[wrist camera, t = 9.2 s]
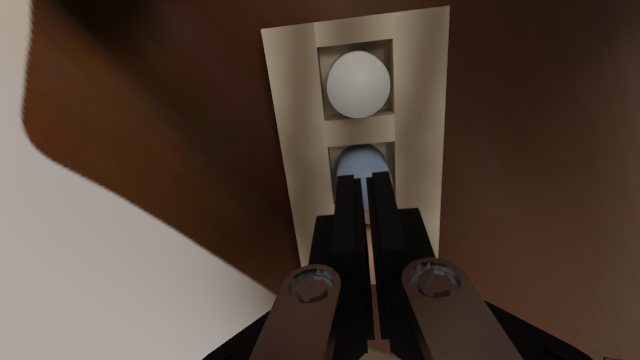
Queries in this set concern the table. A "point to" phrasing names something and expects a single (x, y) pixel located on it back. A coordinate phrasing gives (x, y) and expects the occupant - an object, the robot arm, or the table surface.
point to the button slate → (361, 164)
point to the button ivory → (358, 84)
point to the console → (377, 129)
